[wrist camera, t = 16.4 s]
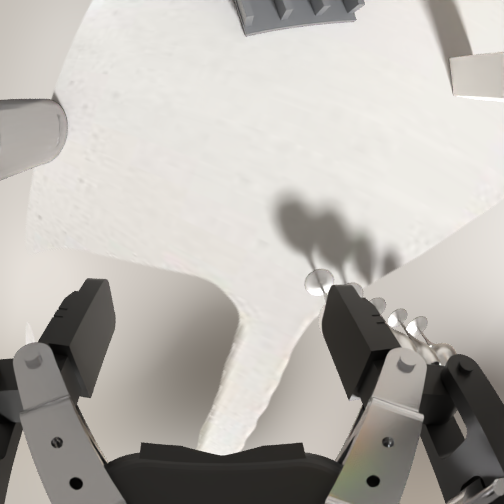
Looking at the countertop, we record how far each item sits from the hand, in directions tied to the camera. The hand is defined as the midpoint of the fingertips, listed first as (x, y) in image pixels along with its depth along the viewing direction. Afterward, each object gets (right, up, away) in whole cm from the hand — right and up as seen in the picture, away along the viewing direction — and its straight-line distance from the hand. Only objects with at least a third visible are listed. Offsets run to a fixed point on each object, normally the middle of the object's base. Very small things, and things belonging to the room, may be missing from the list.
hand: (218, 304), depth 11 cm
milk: (+33, +27, +22) cm, 48 cm away
